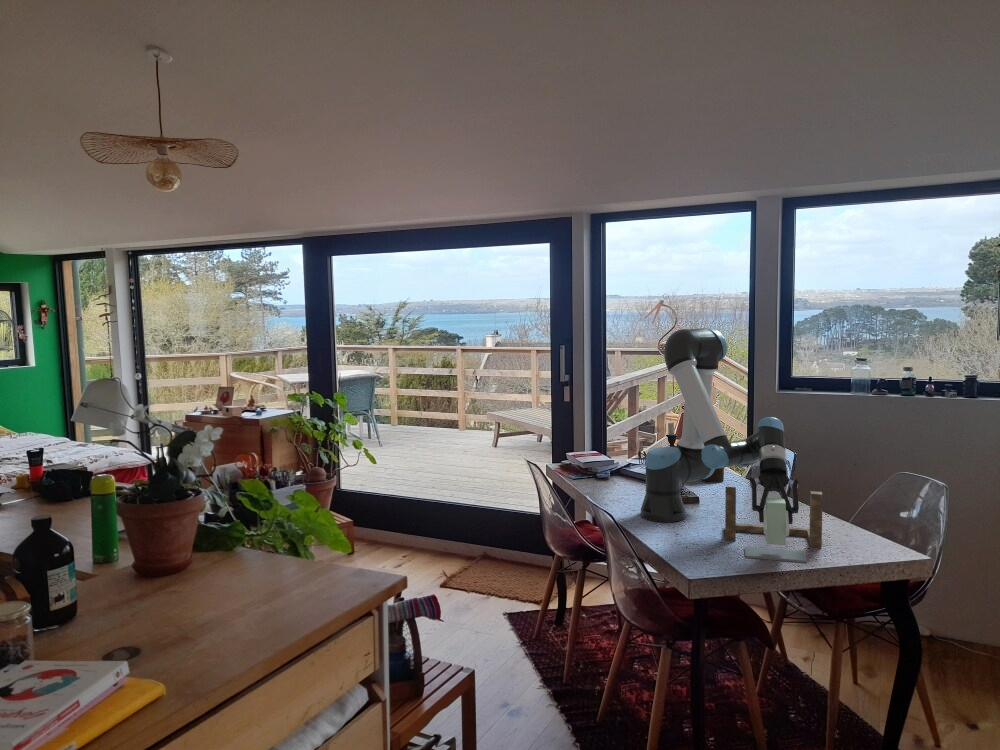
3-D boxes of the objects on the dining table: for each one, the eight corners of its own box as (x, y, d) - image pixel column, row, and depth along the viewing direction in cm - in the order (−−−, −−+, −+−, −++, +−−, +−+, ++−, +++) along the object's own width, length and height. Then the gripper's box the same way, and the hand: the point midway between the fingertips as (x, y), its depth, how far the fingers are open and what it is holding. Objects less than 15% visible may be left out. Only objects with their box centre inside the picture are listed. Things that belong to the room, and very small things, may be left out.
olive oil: (728, 479, 288) (729, 420, 286) (719, 484, 280) (719, 424, 278) (704, 476, 295) (704, 418, 293) (694, 481, 287) (694, 422, 285)
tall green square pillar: (766, 544, 194) (766, 502, 194) (765, 538, 199) (765, 498, 198) (785, 545, 193) (785, 503, 192) (784, 540, 198) (784, 499, 197)
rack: (725, 540, 211) (725, 489, 209) (725, 528, 222) (725, 480, 221) (821, 547, 202) (822, 494, 201) (816, 535, 214) (817, 484, 212)
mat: (745, 557, 195) (745, 555, 195) (744, 548, 203) (744, 546, 203) (806, 562, 190) (806, 560, 190) (803, 553, 198) (803, 551, 198)
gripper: (741, 455, 207) (742, 524, 192) (806, 457, 201) (812, 528, 187) (740, 468, 212) (742, 537, 198) (804, 471, 207) (810, 541, 192)
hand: (776, 532), depth 192 cm, fingers closed on tall green square pillar, 5 cm apart
